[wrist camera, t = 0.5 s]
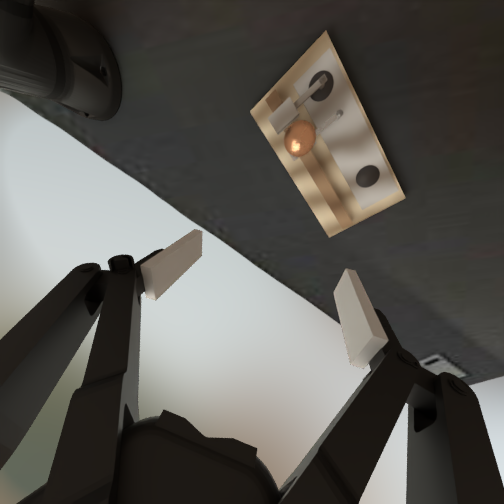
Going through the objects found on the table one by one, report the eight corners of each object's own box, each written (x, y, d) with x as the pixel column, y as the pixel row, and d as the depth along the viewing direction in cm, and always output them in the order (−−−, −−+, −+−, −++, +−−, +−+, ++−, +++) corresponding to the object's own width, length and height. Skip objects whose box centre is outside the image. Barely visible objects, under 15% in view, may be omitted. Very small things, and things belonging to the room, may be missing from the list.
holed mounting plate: (251, 113, 32) (243, 106, 28) (325, 35, 26) (329, 10, 22) (328, 235, 39) (331, 244, 35) (402, 196, 32) (417, 202, 28)
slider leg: (285, 146, 32) (275, 138, 20) (335, 103, 28) (358, 64, 16) (295, 163, 32) (292, 165, 21) (345, 124, 28) (374, 100, 17)
